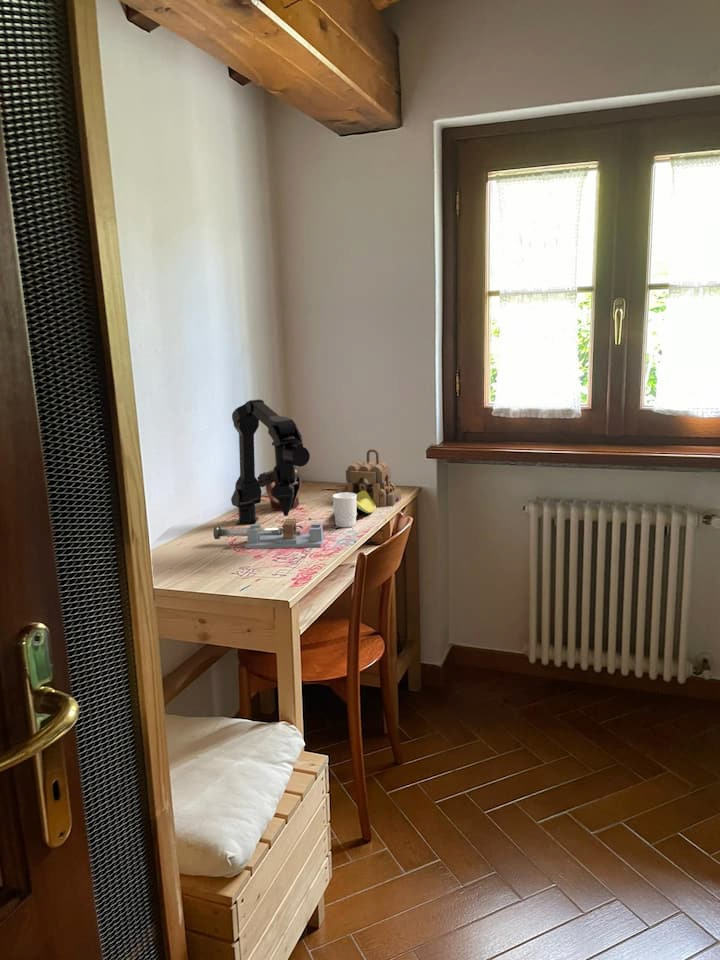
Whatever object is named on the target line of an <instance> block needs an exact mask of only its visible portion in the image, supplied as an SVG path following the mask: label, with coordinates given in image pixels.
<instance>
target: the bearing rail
mask: <svg viewBox="0 0 720 960" xmlns="http://www.w3.org/2000/svg"><path fill="white" fill-rule="evenodd" d="M249 528H262V526H261V524H250V526H249ZM323 528H324V526H323V523H321V522H317V523H316V522H315V523H311V524H310V527H309V528H308V533H303V534H302V531H301V530H296V532H297V536H296V538H295V539H286V540H284V539H283V534H282V535H271V536H258V529H248V530H247V536H246V537H247V542H246V543H245V545H244V548H245V549H278V548H279V549H282V548H283V549H284V548H285V549H286V548H321V547H322V544H323V541H324V539H325V533H324V529H323Z"/></svg>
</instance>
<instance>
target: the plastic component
mask: <svg viewBox="0 0 720 960" xmlns="http://www.w3.org/2000/svg"><path fill="white" fill-rule="evenodd" d="M356 495H357V510H360V511H362V512H364V513H366V514H370V513H373V512H374V511H375V509H376V508H377V507H376V505H375V503H374V502H373V500H372V499H371V497H370V496H369V495H368V493H367V492H366V491H361V492H359V493H357V494H356ZM358 515H359V513H358V512H357V513H356V517H357V516H358Z"/></svg>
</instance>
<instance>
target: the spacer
mask: <svg viewBox="0 0 720 960" xmlns="http://www.w3.org/2000/svg"><path fill="white" fill-rule="evenodd" d="M282 529H283V534H282V535H283V539H284V540H286V539H295V538H296V536H297V532H296V531H297V519H296V518H286V519H285V520H284V522H283V523H282Z"/></svg>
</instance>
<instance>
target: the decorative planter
mask: <svg viewBox="0 0 720 960" xmlns="http://www.w3.org/2000/svg"><path fill="white" fill-rule="evenodd" d="M295 473H298V470H297V469H295ZM296 483H298V482H296ZM279 484H280V483H279ZM274 486H275V484H274V482H273V483H270V484H268V485H265V491H266V494H267V496H268V499H269V501H270V507H271V509H272V510H275V511H282V508H281V505H280V502H279V500H278V499H276V498H274V497H273V496H272V494H271V489H272V488H273V487H274ZM301 486H302V482H301V483H300V487H299V490H298V493H297V496H296V499H295V502H294V505H293V508H290V510H293V509H296V508H297V507H298V506H299V505H300V500H299V492H300V490H301Z"/></svg>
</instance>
